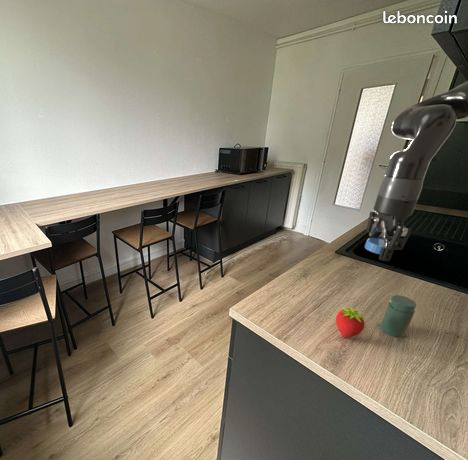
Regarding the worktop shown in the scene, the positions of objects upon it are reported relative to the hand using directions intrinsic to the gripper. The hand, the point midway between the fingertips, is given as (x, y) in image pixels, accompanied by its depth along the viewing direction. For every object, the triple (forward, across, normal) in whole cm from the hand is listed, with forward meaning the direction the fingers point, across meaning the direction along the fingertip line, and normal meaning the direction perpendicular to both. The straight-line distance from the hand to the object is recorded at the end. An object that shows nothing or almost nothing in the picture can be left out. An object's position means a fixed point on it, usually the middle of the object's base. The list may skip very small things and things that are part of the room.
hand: (377, 254), depth 69 cm
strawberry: (+19, +13, -8) cm, 24 cm away
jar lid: (-3, 0, 0) cm, 3 cm away
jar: (+19, +8, +5) cm, 21 cm away
